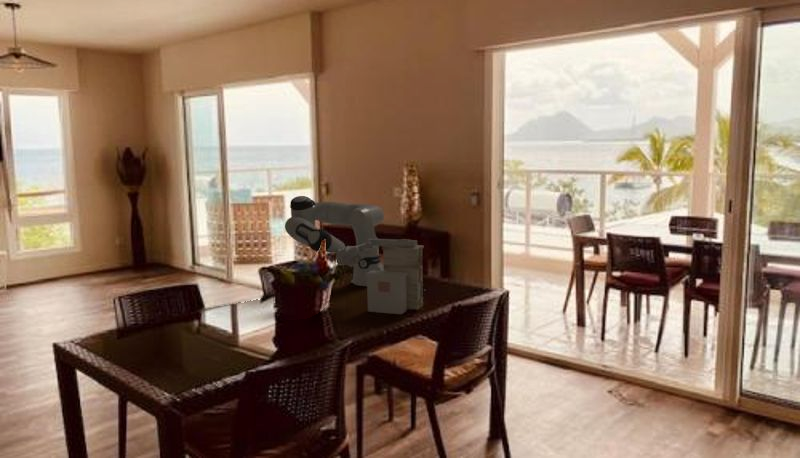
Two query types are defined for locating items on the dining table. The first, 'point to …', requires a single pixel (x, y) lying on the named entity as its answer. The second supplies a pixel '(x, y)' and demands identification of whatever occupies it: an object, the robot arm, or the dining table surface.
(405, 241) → the bar
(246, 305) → the dining table surface
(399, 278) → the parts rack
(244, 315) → the dining table surface
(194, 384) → the dining table surface
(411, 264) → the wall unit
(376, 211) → the robot arm
